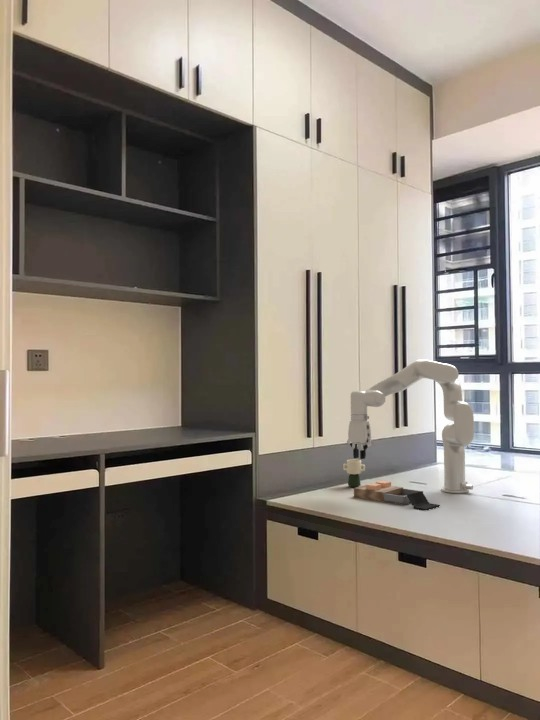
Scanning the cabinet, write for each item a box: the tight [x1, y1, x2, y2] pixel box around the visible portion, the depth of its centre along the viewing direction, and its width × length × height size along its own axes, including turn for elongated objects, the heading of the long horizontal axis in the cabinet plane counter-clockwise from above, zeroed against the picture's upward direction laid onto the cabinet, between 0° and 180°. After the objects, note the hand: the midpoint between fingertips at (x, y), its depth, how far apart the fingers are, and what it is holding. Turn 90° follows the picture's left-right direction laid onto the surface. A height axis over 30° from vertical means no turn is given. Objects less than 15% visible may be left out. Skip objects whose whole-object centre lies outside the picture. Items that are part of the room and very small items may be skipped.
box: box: [383, 487, 424, 506], centre depth 272 cm, size 10×16×4 cm, turn 137°
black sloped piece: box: [407, 490, 441, 511], centre depth 259 cm, size 12×7×10 cm
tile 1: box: [365, 482, 381, 490], centre depth 279 cm, size 5×5×2 cm
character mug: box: [342, 458, 366, 488], centre depth 305 cm, size 11×7×13 cm, turn 71°
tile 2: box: [375, 480, 392, 488], centre depth 284 cm, size 5×5×2 cm
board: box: [353, 482, 404, 502], centre depth 281 cm, size 16×16×4 cm
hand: (359, 457), depth 284 cm, fingers open, 3 cm apart
